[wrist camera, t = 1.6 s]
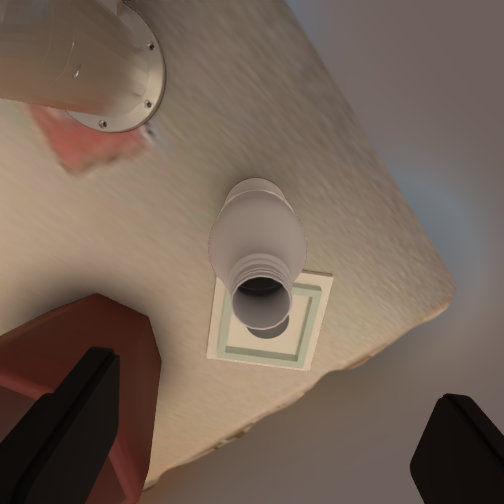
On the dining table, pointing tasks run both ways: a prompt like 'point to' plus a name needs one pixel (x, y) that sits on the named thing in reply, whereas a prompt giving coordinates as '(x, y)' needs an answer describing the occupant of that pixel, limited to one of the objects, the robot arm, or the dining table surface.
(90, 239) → the dining table surface
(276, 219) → the water bottle
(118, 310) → the bucket
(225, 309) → the plate
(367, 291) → the dining table surface
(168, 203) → the dining table surface
